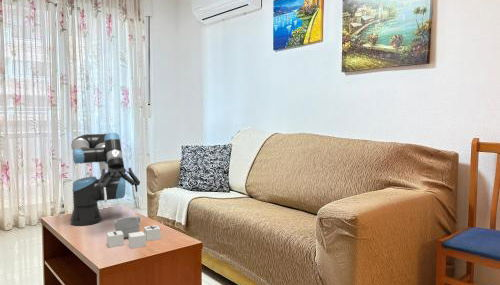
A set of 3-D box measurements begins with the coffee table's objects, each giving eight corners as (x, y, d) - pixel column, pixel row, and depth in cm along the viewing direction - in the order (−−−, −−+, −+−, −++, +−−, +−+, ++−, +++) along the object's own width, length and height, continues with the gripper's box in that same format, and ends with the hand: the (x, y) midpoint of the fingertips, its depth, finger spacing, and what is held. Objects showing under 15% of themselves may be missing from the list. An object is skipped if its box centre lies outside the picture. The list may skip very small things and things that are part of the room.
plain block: (128, 244, 162) (128, 233, 161) (142, 242, 164) (142, 231, 164) (131, 248, 156) (131, 237, 156) (145, 246, 159) (145, 235, 159)
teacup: (124, 241, 166) (124, 223, 165) (110, 237, 172) (109, 220, 171) (149, 233, 177) (149, 216, 176) (135, 229, 183) (134, 213, 183)
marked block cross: (144, 237, 171) (143, 226, 170) (157, 235, 173) (156, 224, 173) (147, 241, 165) (146, 230, 165) (160, 239, 168) (160, 228, 168)
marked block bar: (107, 243, 163) (106, 232, 163) (121, 241, 166) (121, 230, 165) (109, 248, 158) (108, 236, 157) (124, 245, 161) (123, 233, 160)
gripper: (89, 158, 177) (93, 198, 168) (141, 156, 190) (148, 193, 181) (87, 165, 183) (91, 205, 173) (138, 163, 196) (145, 200, 186)
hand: (120, 199), depth 177 cm, fingers open, 13 cm apart
